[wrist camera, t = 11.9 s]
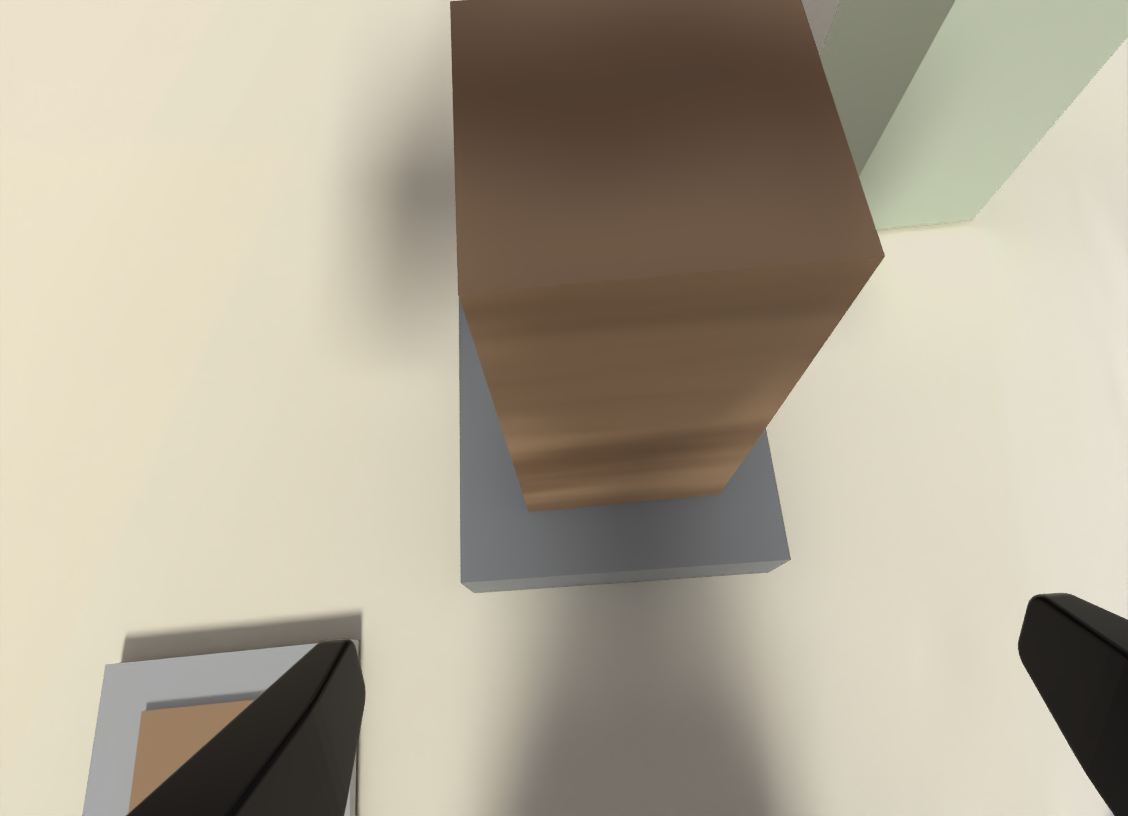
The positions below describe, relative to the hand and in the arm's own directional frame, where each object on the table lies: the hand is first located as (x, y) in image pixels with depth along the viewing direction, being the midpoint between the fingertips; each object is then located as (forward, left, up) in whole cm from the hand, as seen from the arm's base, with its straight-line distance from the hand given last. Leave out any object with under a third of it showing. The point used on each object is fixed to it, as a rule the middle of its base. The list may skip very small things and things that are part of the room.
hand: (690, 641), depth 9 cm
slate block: (+7, 0, -14) cm, 16 cm away
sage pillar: (+18, -13, -14) cm, 27 cm away
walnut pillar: (+8, 0, -11) cm, 13 cm away
